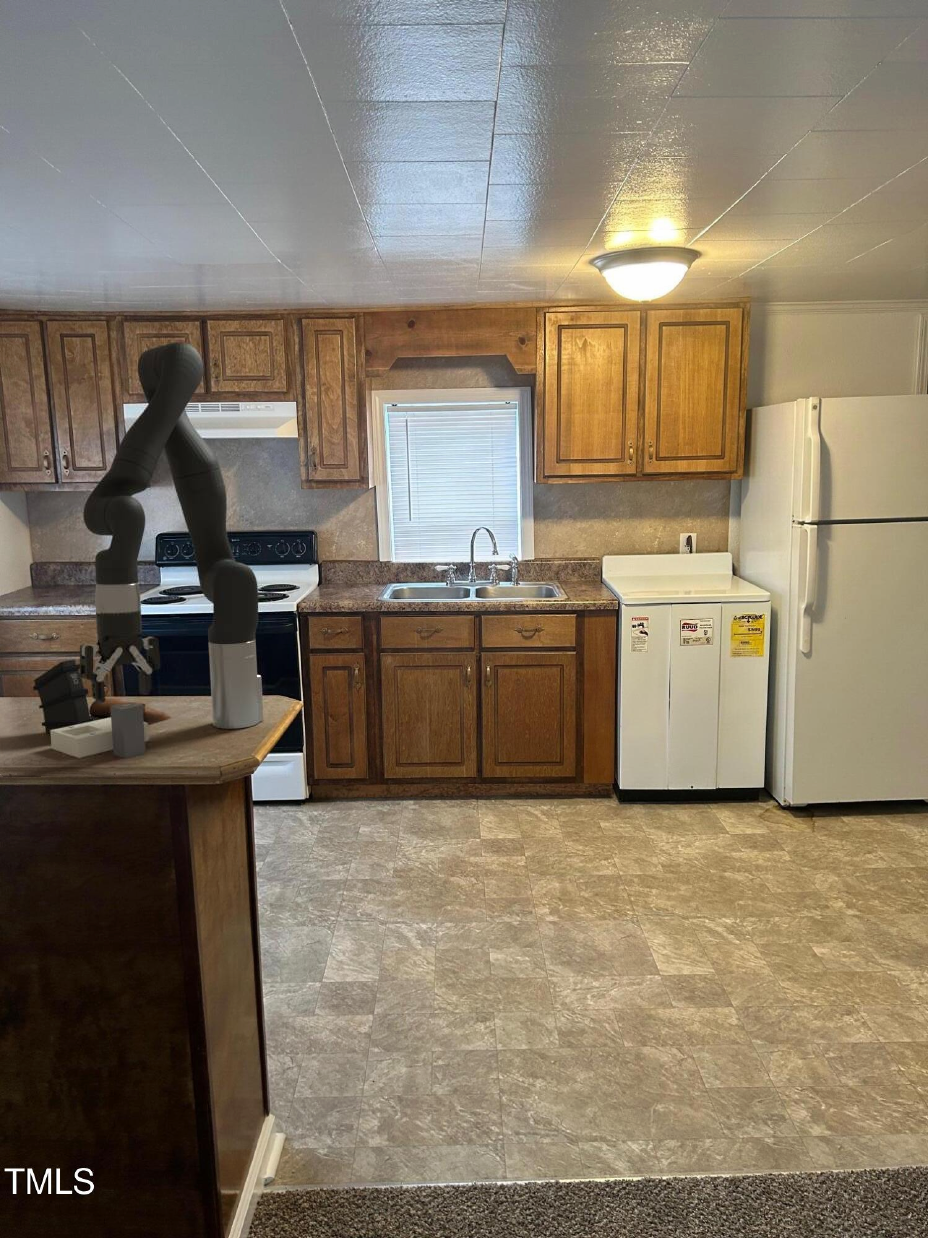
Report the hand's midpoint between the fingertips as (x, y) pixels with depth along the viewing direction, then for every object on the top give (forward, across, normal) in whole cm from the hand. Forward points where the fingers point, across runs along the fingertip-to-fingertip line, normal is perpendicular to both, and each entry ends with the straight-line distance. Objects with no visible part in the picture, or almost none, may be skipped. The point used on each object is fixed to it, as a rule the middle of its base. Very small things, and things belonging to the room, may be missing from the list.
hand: (122, 697), depth 163 cm
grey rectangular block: (+10, -1, 0) cm, 10 cm away
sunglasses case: (+11, -16, -25) cm, 31 cm away
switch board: (+10, 0, -10) cm, 14 cm away
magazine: (+11, 0, -23) cm, 25 cm away
